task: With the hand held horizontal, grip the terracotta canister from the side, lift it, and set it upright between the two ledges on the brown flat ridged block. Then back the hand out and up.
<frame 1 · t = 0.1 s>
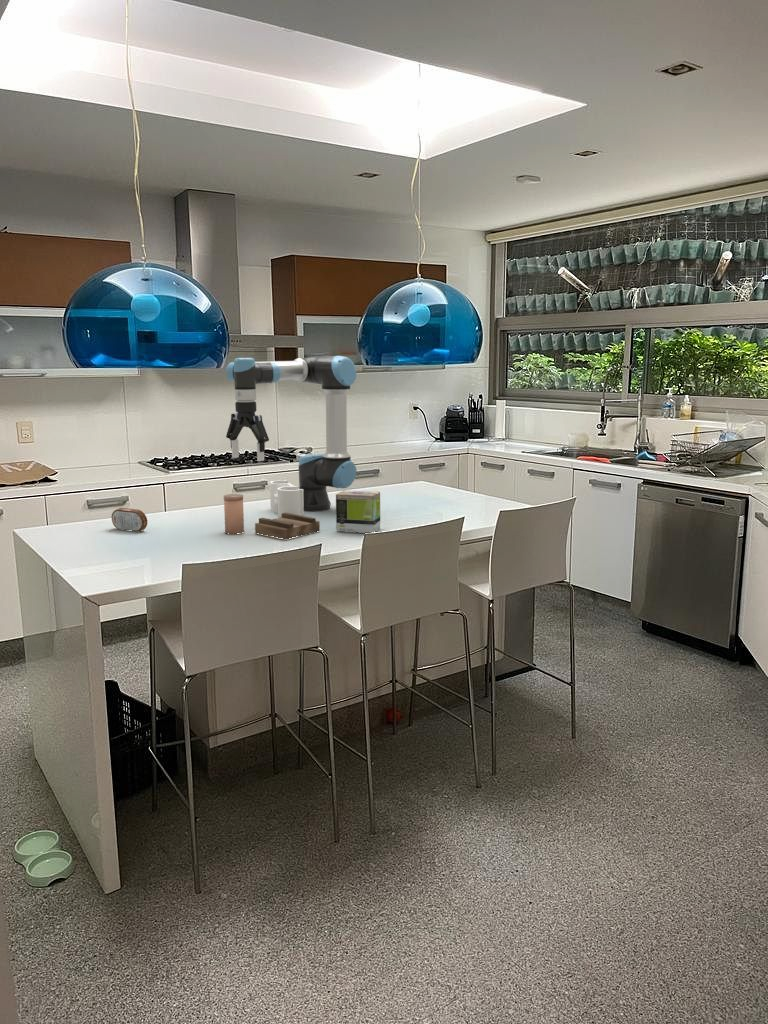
hand: (248, 459, 294), 28 cm above the worktop, tool pointing down, fingers open, 13 cm apart
terracotta canister: (234, 532, 301), on the worktop
tea box: (358, 530, 305), on the worktop
bracket: (285, 514, 334), on the worktop
tin: (129, 531, 303), on the worktop
brown flat ridged block: (287, 532, 301), on the worktop
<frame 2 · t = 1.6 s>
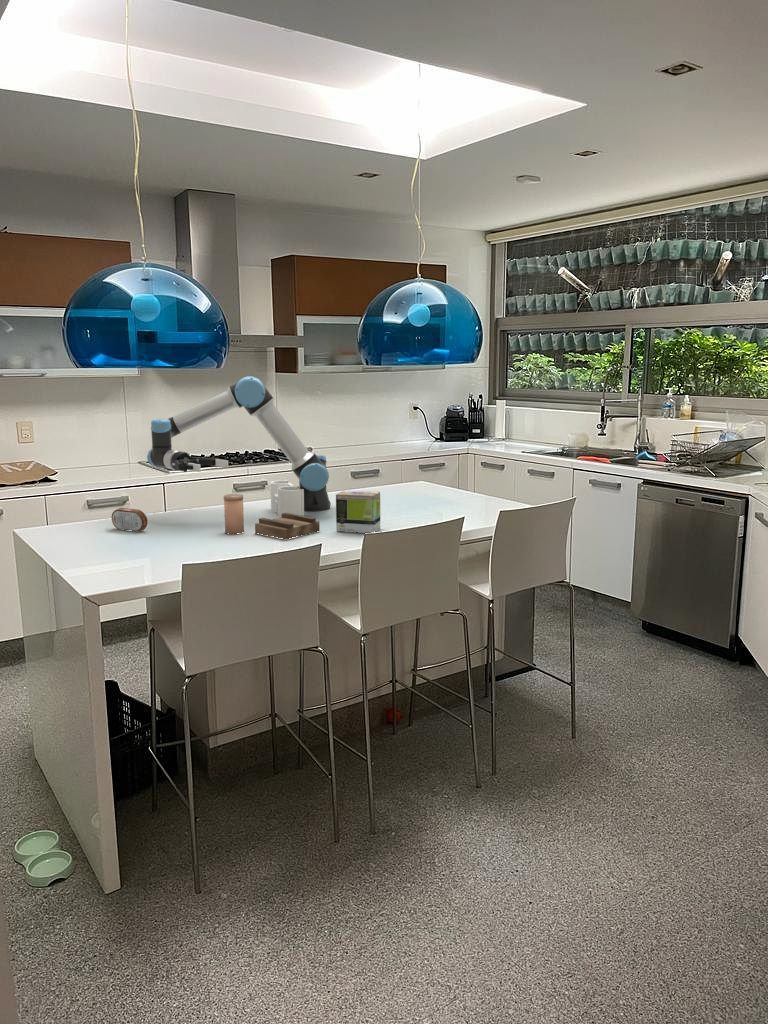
hand: (214, 466, 302), 24 cm above the worktop, tool horizontal, fingers open, 13 cm apart
nothing on the worktop moved.
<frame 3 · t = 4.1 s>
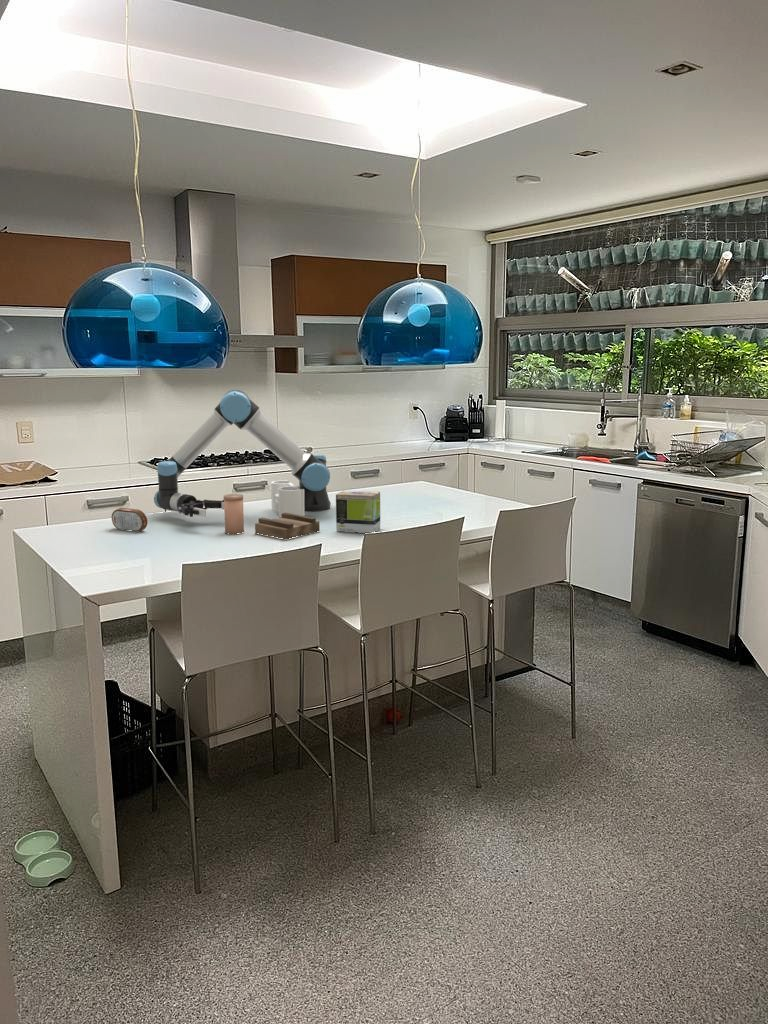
hand: (219, 510, 303), 7 cm above the worktop, tool horizontal, fingers open, 13 cm apart
nothing on the worktop moved.
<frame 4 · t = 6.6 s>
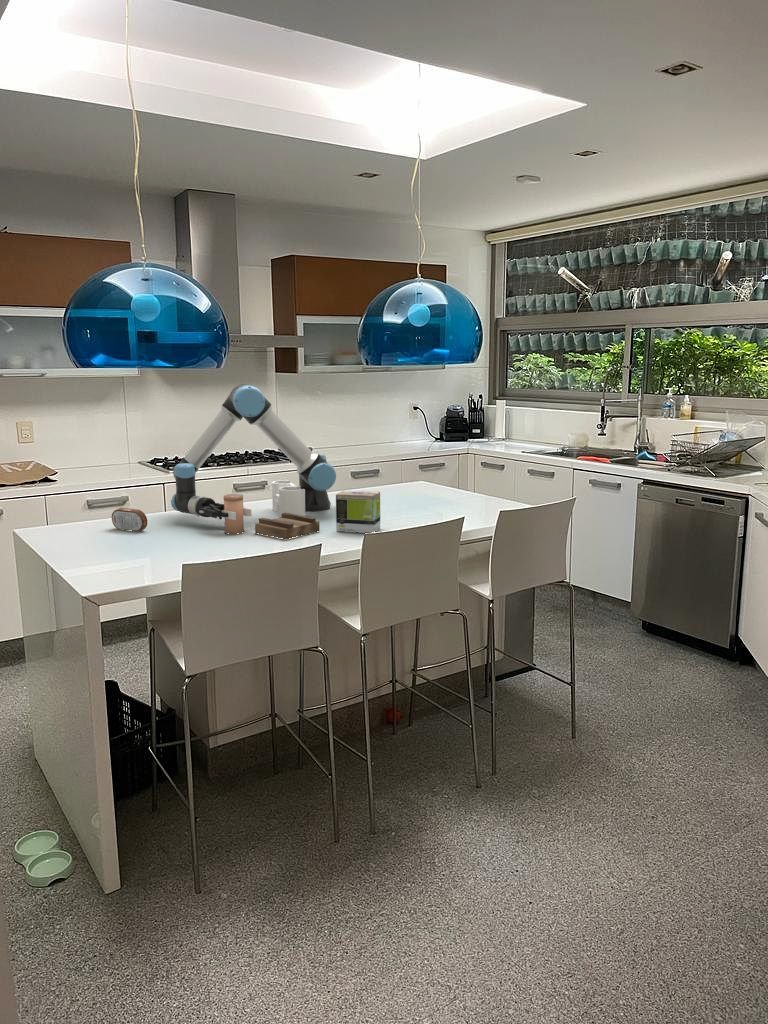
hand: (242, 514, 296), 8 cm above the worktop, tool horizontal, fingers closed on terracotta canister, 7 cm apart
terracotta canister: (234, 532, 301), on the worktop, touching gripper
everything else where it was.
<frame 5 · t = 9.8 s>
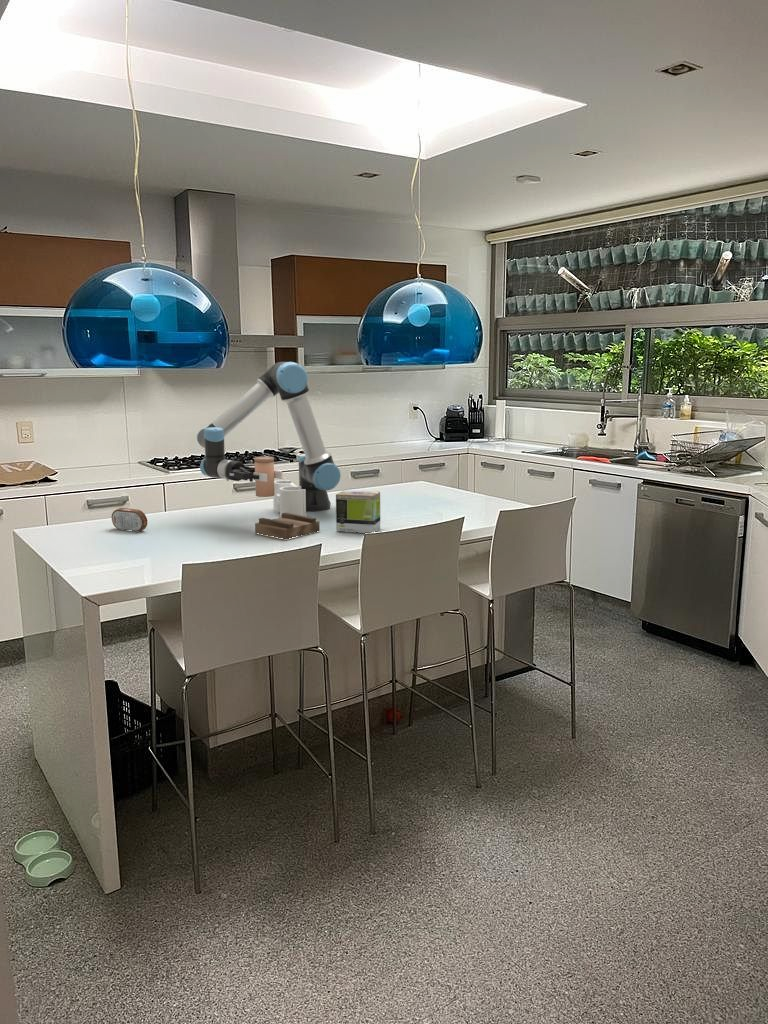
hand: (274, 476, 292), 22 cm above the worktop, tool horizontal, fingers closed on terracotta canister, 7 cm apart
terracotta canister: (265, 495, 297), point 14 cm above the worktop, touching gripper
when the fingers open (13 cm above the worktop, at t = 13.0 s): terracotta canister drops 1 cm, resting on brown flat ridged block.
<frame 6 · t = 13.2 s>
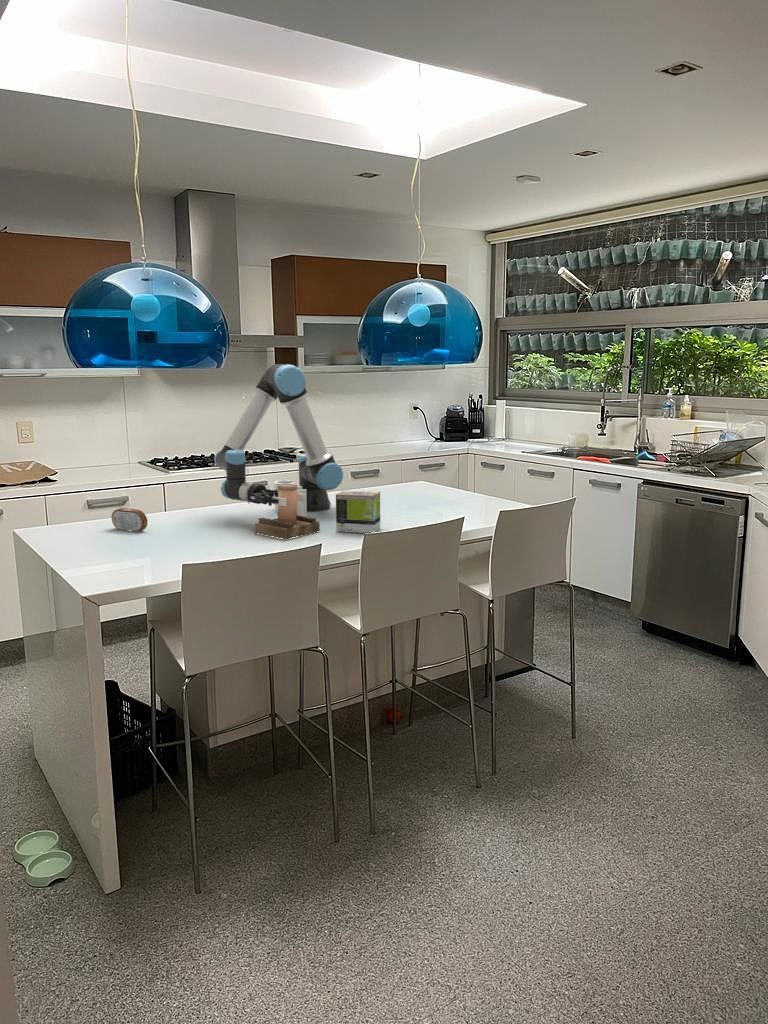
hand: (295, 500, 295), 13 cm above the worktop, tool horizontal, fingers open, 9 cm apart
terracotta canister: (287, 522, 300), point 4 cm above the worktop, touching brown flat ridged block
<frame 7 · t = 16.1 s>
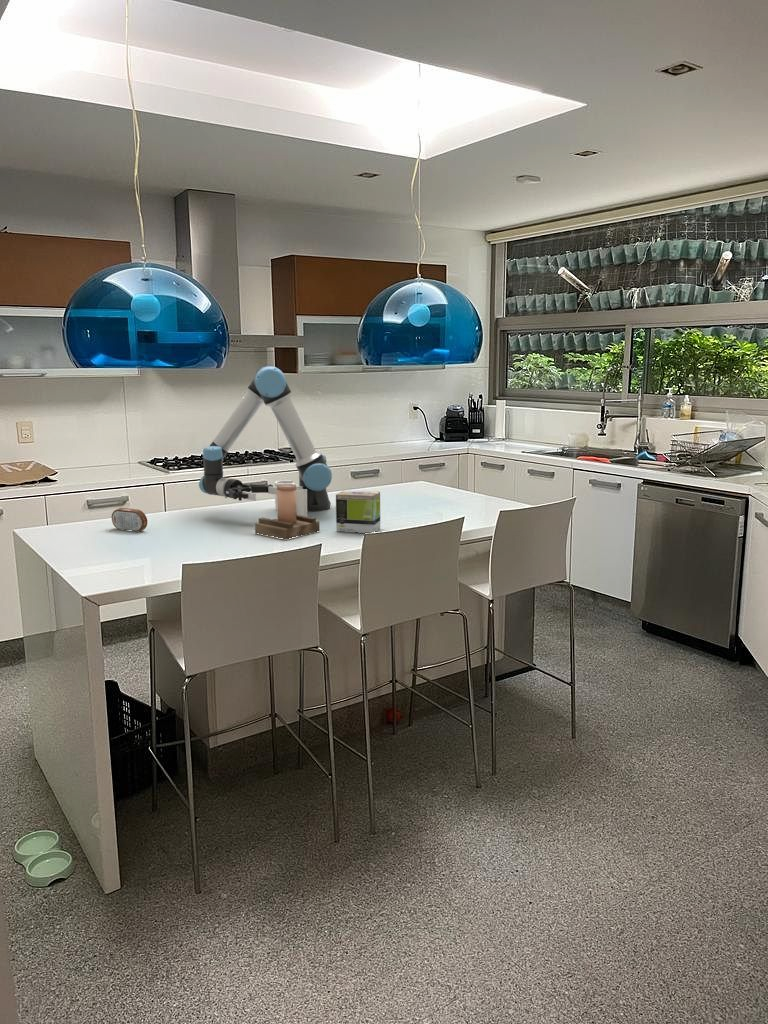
hand: (268, 494, 304), 13 cm above the worktop, tool horizontal, fingers open, 13 cm apart
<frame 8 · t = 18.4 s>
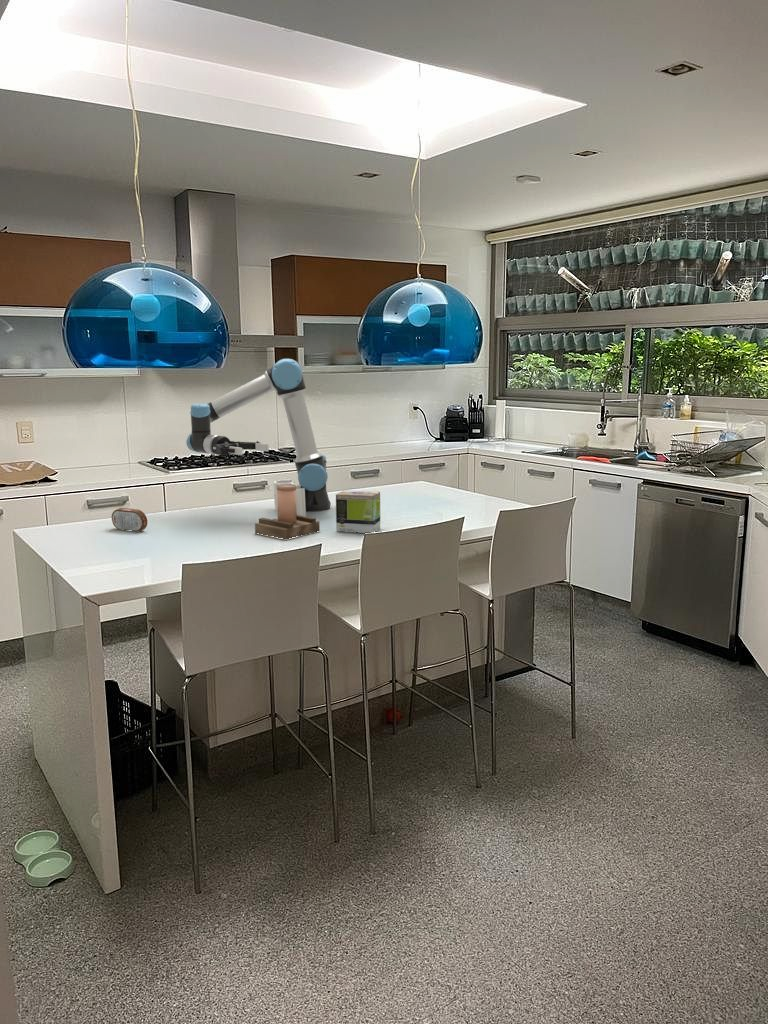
hand: (255, 449, 304), 30 cm above the worktop, tool horizontal, fingers open, 13 cm apart
bracket: (288, 513, 334), on the worktop, touching arm
everything else where it was.
at the end: terracotta canister inside the target area on the brown flat ridged block (0.1 cm from its centre), point 4.0 cm above the brown flat ridged block's base; terracotta canister tilted 0°; the gripper is holding nothing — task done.
